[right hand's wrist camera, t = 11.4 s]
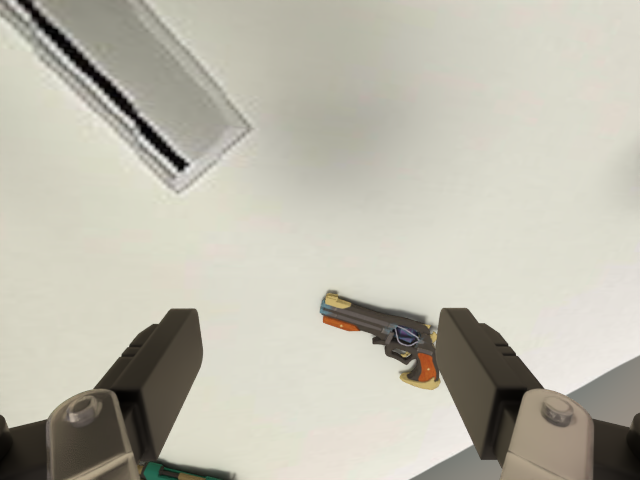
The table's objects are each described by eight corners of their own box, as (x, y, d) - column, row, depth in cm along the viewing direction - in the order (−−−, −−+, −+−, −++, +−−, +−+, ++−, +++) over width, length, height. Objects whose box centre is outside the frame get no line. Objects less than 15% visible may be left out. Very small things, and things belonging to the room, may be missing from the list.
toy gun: (437, 396, 47) (472, 343, 43) (303, 356, 47) (325, 298, 42) (433, 381, 50) (465, 329, 45) (306, 342, 49) (327, 286, 45)
